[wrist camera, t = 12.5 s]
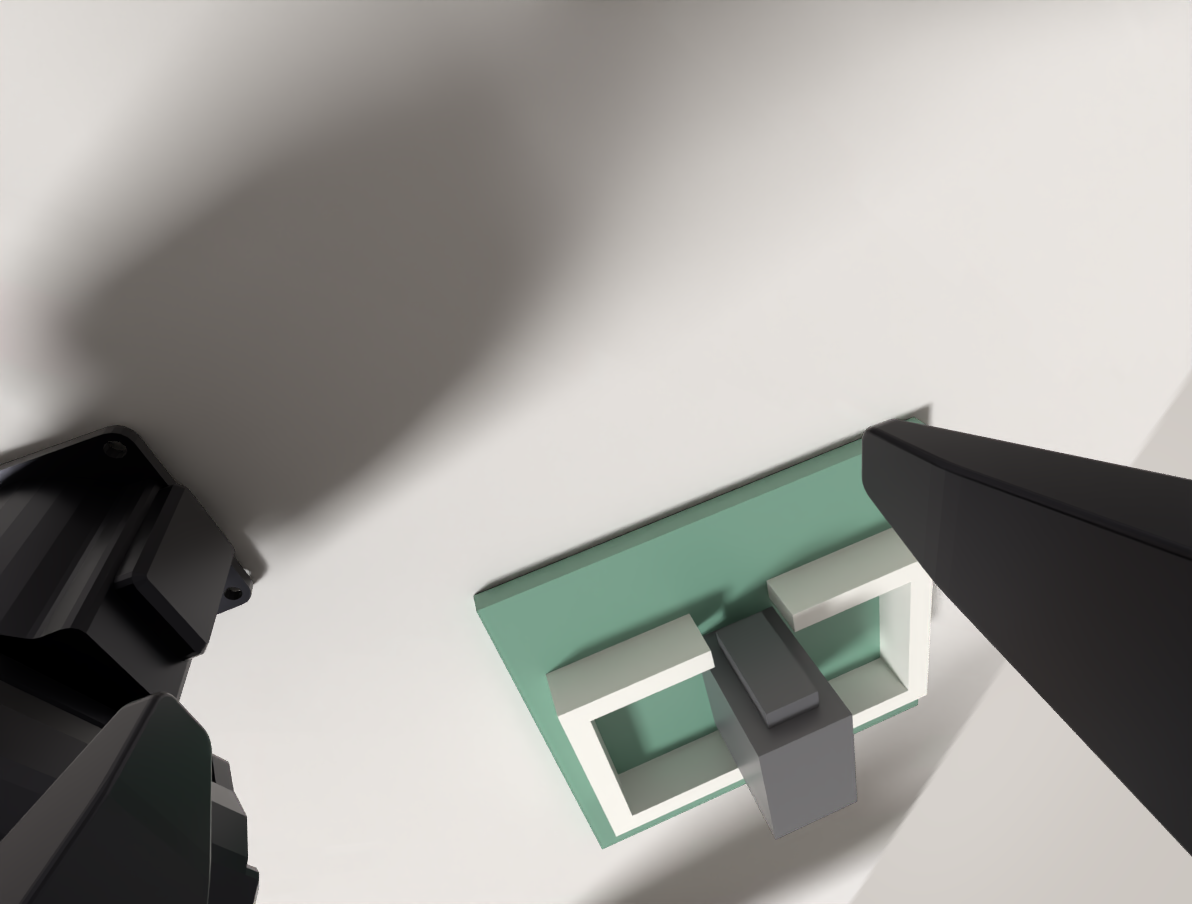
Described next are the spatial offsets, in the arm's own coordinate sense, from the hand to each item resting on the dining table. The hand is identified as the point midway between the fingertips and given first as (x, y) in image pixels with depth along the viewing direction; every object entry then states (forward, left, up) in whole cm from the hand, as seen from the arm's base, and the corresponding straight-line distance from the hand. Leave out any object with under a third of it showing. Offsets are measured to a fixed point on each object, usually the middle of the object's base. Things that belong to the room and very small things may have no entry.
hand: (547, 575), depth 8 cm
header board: (+6, -19, -12) cm, 23 cm away
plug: (+6, -19, -11) cm, 23 cm away
